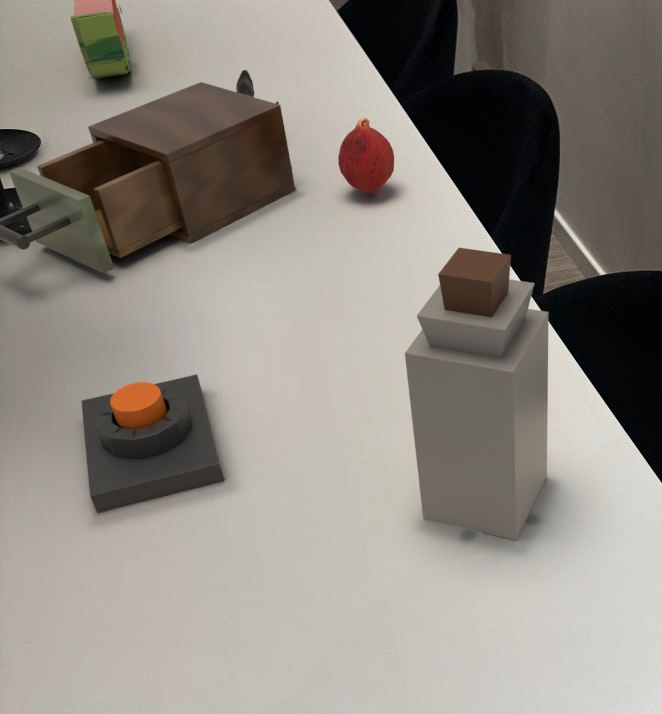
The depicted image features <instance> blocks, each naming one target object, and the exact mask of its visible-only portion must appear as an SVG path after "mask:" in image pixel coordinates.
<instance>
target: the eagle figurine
mask: <svg viewBox="0 0 662 714" xmlns="http://www.w3.org/2000/svg"><path fill="white" fill-rule="evenodd" d="M235 91H236V92H237V93H241V94H244V95H248V96H251V97H255V89H254V84H253V79H252V78H251V75H250V73H249V72H248V70H247V69H242V71H241V72H240V74H239V77H238V79H237V82H236V85H235ZM274 103H275V104H279V105H280V102H279V101H277V100H276V102H274Z"/></svg>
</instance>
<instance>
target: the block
mask: <svg viewBox="0 0 662 714" xmlns="http://www.w3.org/2000/svg"><path fill="white" fill-rule="evenodd" d="M153 384H154V385H156V386H157V387H158V388H159V389H160V391H161V394H162V397H163V400H164V403H165V406H166V409H167V411H166V415H165V417H164V418H163V419H162V420H160V421H158V422H157V423H155V424H153V425H151V426H148V427H144V428H139V429H126V428H122V427H121V426H119V424H118V423H117V421H116V418H115V415H114V413H113V410H112V407H111V405H110V399H111V397H112V395H113V394H114V393H115V392H113V393H109V394H105V395H104V394H103V395H100V396H95V397H91V398H87V399H83V400H81V402H80V403H81V413H82V424H83V435H84V445H85V455H86V466H87V468H86V469H87V477H88V489H89V497H90V500H91V502H92V504H93V506H94V508H95V511H96V513H97V514H100V513H103V512H108V511H112V510H116V509H119V508H124V507H128V506H132V505H136V504H139V503H143V502H147V501H151V500H156V499H159V498H163V497H167V496H170V495H175V494H179V493H183V492H187V491H190V490H195V489H198V488H203V487H207V486H211V485H214V484H218V483H223V482H225V476H224V473H223V468H222V465H221V459H220V457H219V452H218V449H217V445H216V440H215V435H214V432H213V429H212V424H211V419H210V416H209V413H208V409H207V404H206V401H205V398H204V397H205V396H204V392H203V390H202V389H203V388H202V386H201V382H200V378H199V376H198V374H192V375H188V376H184V377H179V378H174V379H171V380H167V381H162V382H157V383H153Z"/></svg>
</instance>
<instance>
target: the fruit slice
mask: <svg viewBox="0 0 662 714" xmlns="http://www.w3.org/2000/svg"><path fill="white" fill-rule="evenodd" d="M73 1H74V2H73V3H74V10H73V11H74V12H73V14H74V15H70V22H71V25H72V28H73V31H74V34H75V38H76V41H77V43H78V47H79V50H80V53H81V56H82V58H83V61H84V64H85V66H86V69H87V72H88V73H89V75H90V76H91V78H92V80H95V79H96V80H97V79H102V78H103V79H104V78H109V77H115V76H122V75H127V74H129V73H130V72H132V67H131V66H130V64H131V59H129V58H130V52H129V48H127V47H128V43H127V38H126V37H127V36H126V34H125V28H124V25H123V21H122V17H121V15H122V14H123V11H122V8H121V5H120V4H118V5H117V1H116V0H73ZM118 6H119V7H118ZM130 69H131V70H130Z"/></svg>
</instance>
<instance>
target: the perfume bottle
mask: <svg viewBox="0 0 662 714" xmlns="http://www.w3.org/2000/svg"><path fill="white" fill-rule="evenodd" d="M511 260H512V254H508V253H500V252H493V251H486V250H479V249H473V248H465V247H458V248H457V249H456V250H455V252H454V253H453V254H452V256H451V257H450V258H449V259H448V260H447V262H446V263H445V264H444V266H443V267H442V268H441V270H440V271H439V272H438V273H437V276H438V281H439V286H438V287H437V288H436V289H435V290H434V292H433V293H432V295H431V296H430V297H429V298H428V300H427V301H426V303H425V304H424V306H423V307H422V308H421V309H420V310H419V312H418V313H417V315H416V318H417V321H418V322H419V323H418V324H419V325H420V327H421V330H420V332H419V333H418V335H417V336H416V337H415V338H414V340H413V341H412V343H411V344H410V345H409V346H408V348H407V349H406V350H405V352H404V359H405V365H406V366H405V368H406V376H407V377H406V378H407V386H408V394H409V403H410V404H409V405H410V413H411V421H412V422H411V423H412V431H413V439H414V449H415V459H416V467H417V475H418V485H419V492H420V493H419V494H420V502H421V512H422V519H423V520H426V521H431V522H435V523H440V524H444V525H448V526H453V527H457V528H462V529H466V530H470V531H474V532H479V533H482V534H486V535H489V536H495V537H498V538H504V539H507V540H512V541H518V539H519V537H520V535H521V532H522V530H523V528H524V526H525V524H526V523H527V520H528V518H529V516H530V514H531V512H532V509H533V507H534V505H535V503H536V502H537V499H538V497H539V494H540V493H541V491H542V489H543V487H544V484H545V482H546V481H547V478H548V415H549V413H548V412H549V411H548V409H549V407H548V406H549V405H548V404H549V403H548V402H549V400H548V398H549V397H548V396H549V311H545V310H538V309H534V308H533V309H532V308H529V307H530V302H531V298H532V295H533V291H534V287H535V283H534V282H530V281H529V282H528V281H524V280H523V281H522V280H515V279H510V274H511V263H512V261H511Z"/></svg>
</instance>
